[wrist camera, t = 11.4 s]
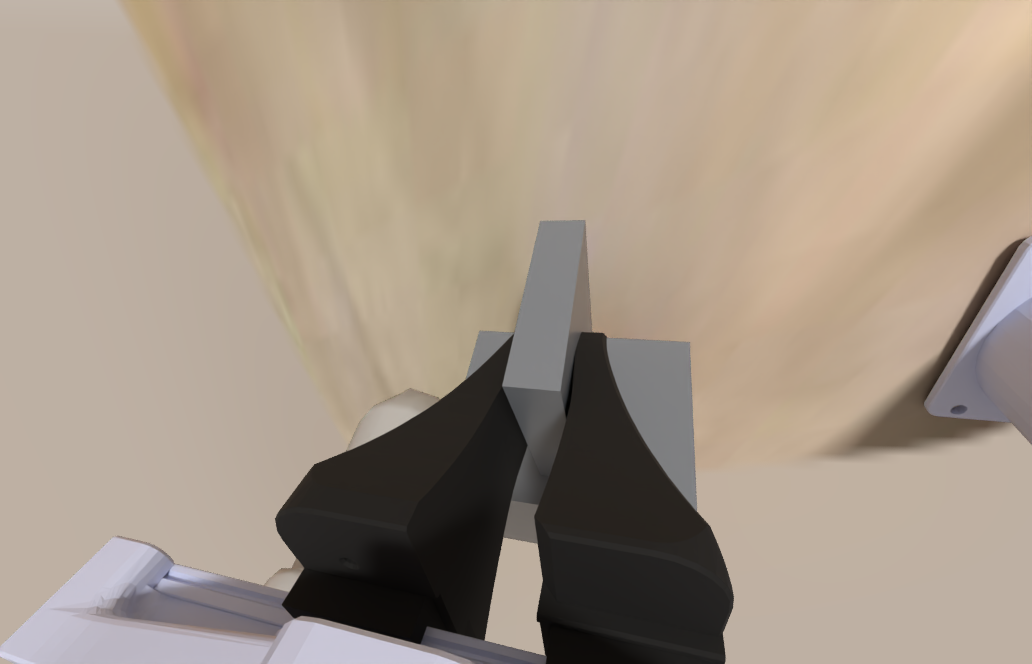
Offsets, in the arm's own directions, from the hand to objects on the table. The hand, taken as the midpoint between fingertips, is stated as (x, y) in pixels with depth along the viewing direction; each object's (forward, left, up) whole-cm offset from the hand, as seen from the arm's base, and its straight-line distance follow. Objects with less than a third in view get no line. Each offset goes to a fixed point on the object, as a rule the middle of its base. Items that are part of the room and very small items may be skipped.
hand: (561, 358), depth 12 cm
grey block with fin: (0, +3, -4) cm, 5 cm away
